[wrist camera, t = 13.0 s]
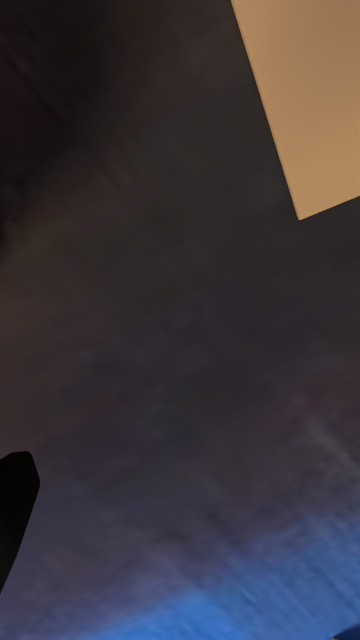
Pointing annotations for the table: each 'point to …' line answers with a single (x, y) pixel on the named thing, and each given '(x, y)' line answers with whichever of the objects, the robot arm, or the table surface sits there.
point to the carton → (309, 92)
